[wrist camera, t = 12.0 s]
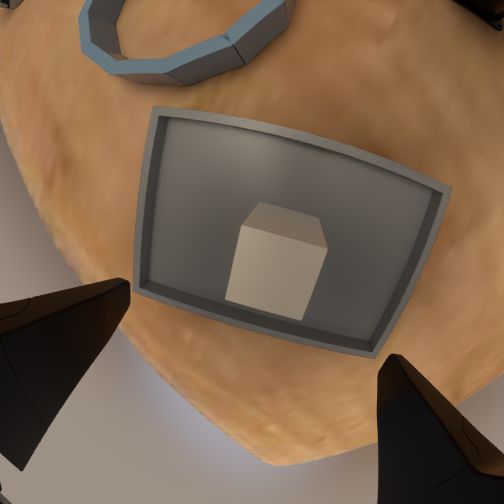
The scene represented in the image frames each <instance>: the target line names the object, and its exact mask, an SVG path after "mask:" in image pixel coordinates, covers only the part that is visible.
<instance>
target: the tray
mask: <svg viewBox="0 0 504 504" xmlns="http://www.w3.org/2000/svg"><path fill="white" fill-rule="evenodd" d="M451 191H452V188H451V187H449V186H447V185H445V184H443V183H441V182H439V181H437V180H435V179H433V178H431V177H428V176H426V175H424V174H422V173H420V172H417V171H415V170H413V169H411V168H408V167H406V166H403V165H401V164H399V163H396V162H394V161H391V160H389V159H386V158H384V157H381V156H378V155H376V154H373V153H370V152H367V151H365V150H362V149H359V148H356V147H353V146H350V145H347V144H344V143H341V142H338V141H335V140H331V139H328V138H325V137H321V136H318V135H314V134H311V133H307V132H303V131H300V130H296V129H292V128H288V127H284V126H280V125H275V124H271V123H267V122H262V121H257V120H252V119H247V118H242V117H236V116H231V115H225V114H219V113H212V112H205V111H198V110H190V109H181V108H171V107H159V106H153V108H152V113H151V118H150V123H149V128H148V133H147V139H146V144H145V150H144V156H143V163H142V170H141V177H140V185H139V193H138V203H137V213H136V225H135V240H134V260H133V292H135V293H138V294H140V295H143V296H146V297H148V298H151V299H154V300H157V301H159V302H162V303H165V304H168V305H171V306H174V307H176V308H179V309H182V310H185V311H188V312H191V313H194V314H197V315H200V316H204V317H207V318H210V319H213V320H216V321H220V322H223V323H226V324H229V325H233V326H236V327H240V328H243V329H247V330H250V331H254V332H257V333H261V334H265V335H268V336H272V337H276V338H280V339H284V340H288V341H292V342H296V343H300V344H304V345H308V346H313V347H317V348H322V349H326V350H331V351H335V352H340V353H345V354H350V355H355V356H361V357H366V358H371V359H375V358H376V357H377V355H378V354H379V352H380V350H381V349H382V347H383V345H384V344H385V342H386V340H387V339H388V337H389V335H390V333H391V332H392V330H393V328H394V326H395V325H396V323H397V321H398V319H399V317H400V315H401V314H402V312H403V310H404V308H405V306H406V304H407V302H408V300H409V298H410V296H411V294H412V292H413V290H414V288H415V286H416V283H417V281H418V279H419V277H420V275H421V273H422V270H423V268H424V266H425V263H426V261H427V259H428V256H429V254H430V251H431V249H432V246H433V244H434V241H435V239H436V236H437V233H438V231H439V228H440V225H441V222H442V219H443V216H444V213H445V210H446V207H447V204H448V201H449V198H450V194H451ZM259 202H264V203H268V204H272V205H275V206H279V207H283V208H286V209H290V210H293V211H297V212H301V213H304V214H308V215H311V216H314V217H318V218H319V220H320V223H321V227H322V230H323V233H324V237H325V240H326V244H327V248H328V250H327V253H326V256H325V259H324V262H323V265H322V267H321V270H320V273H319V276H318V278H317V281H316V284H315V287H314V289H313V292H312V295H311V297H310V300H309V302H308V305H307V307H306V310H305V313H304V315H303V318H302V320H301V321H300V320H297V319H293V318H289V317H285V316H281V315H278V314H274V313H270V312H267V311H263V310H259V309H256V308H252V307H249V306H245V305H242V304H238V303H235V302H231V301H228V300H225V297H226V292H227V288H228V283H229V279H230V274H231V269H232V265H233V260H234V256H235V251H236V247H237V242H238V238H239V233H240V229H241V225H242V224H243V222H244V221H245V220H246V218H247V217H248V216H249V215H250V213H251V212H252V211H253V209H254V208H255V207H256V206H257V204H258V203H259Z"/></svg>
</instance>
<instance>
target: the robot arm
mask: <svg viewBox="0 0 504 504" xmlns="http://www.w3.org/2000/svg"><path fill="white" fill-rule="evenodd" d="M455 1H456V2H458V3H460V4H461V5H463V6H464V7H466V8H467V9H469V10H470V11H472V12H473V13H475V14H476V15H478V16H479V17H481V18H482V19H483V20H485V21H486V22H488V23H489V24H490V25H492V26H493V27H494V28H495V29H497V30H498V31H502V30H503V23H502V19H503V18H504V0H455ZM129 306H130V282H129V281H128V280H125V279H122V278H114V279H110V280H105V281H101V282H96V283H92V284H88V285H83V286H79V287H75V288H70V289H66V290H61V291H57V292H53V293H49V294H44V295H40V296H35V297H32V298H27V299H23V300H18V301H13V302H8V303H1V304H0V453H1V454H2V455H3V456H4V457H5V458H6V459H7V460H9V461H10V462H11V463H12V464H13V465H14V466H15V467H17V468H18V469H19V470H20V471H23V470H24V468H25V466H26V465H27V463H28V461H29V459H30V458H31V456H32V454H33V453H34V451H35V449H36V448H37V446H38V444H39V443H40V441H41V439H42V438H43V436H44V435H45V433H46V431H47V430H48V428H49V426H50V425H51V423H52V422H53V420H54V418H55V417H56V415H57V414H58V412H59V411H60V409H61V408H62V406H63V405H64V403H65V402H66V400H67V399H68V397H69V396H70V394H71V393H72V391H73V390H74V388H75V387H76V385H77V384H78V383H79V381H80V380H81V378H82V377H83V376H84V374H85V373H86V371H87V370H88V369H89V367H90V366H91V364H92V363H93V362H94V360H95V359H96V358H97V356H98V355H99V353H100V352H101V351H102V349H103V348H104V347H105V345H106V344H107V343H108V341H109V340H110V338H111V336H112V335H113V333H114V332H115V330H116V328H117V326H118V325H119V323H120V321H121V320H122V318H123V316H124V315H125V313H126V311H127V310H128V308H129ZM377 429H378V464H379V465H378V501H377V504H504V454H503V453H502V452H501V451H500V450H499V449H498V448H497V447H496V446H494V445H493V444H492V443H491V442H490V441H489V440H488V439H487V438H486V437H484V436H483V435H482V434H481V433H480V432H479V431H478V430H477V429H476V428H475V427H474V426H473V425H472V424H471V423H470V422H469V421H468V420H467V419H466V418H465V417H464V416H462V414H461V413H460V412H459V411H458V410H457V409H456V408H455V407H454V406H453V405H452V404H451V403H450V402H449V401H448V400H447V399H446V398H445V397H444V396H443V395H442V394H441V393H440V392H439V391H438V390H437V389H436V388H435V387H434V386H433V385H432V384H431V383H430V382H429V381H428V380H427V379H426V378H425V377H424V376H423V375H422V374H421V373H420V372H419V371H418V370H417V369H416V368H415V367H414V366H413V365H412V364H411V363H409V362H408V361H407V360H406V359H405V358H404V357H403V356H402V355H399V354H390V355H389V356H388V358H387V359H386V361H385V362H384V364H383V365H382V367H381V368H380V370H379V372H378V377H377ZM1 490H2V487H1V483H0V492H1ZM0 504H12V503H11V502H9V501H8V500H7V499H6V498H5V497H4V496H3V495H2V494H1V493H0Z"/></svg>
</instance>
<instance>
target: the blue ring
mask: <svg viewBox="0 0 504 504" xmlns="http://www.w3.org/2000/svg"><path fill="white" fill-rule="evenodd" d="M124 1H125V0H86V1H85V3H84V5H83V7H82V10H81V12H80V14H79V17H78V18H79V30H80V41H81V49H82V53H83V54H85V55H86V56H87V57H89V58H90V59H91V60H92V61H94V62H95V63H96V64H98V65H99V66H100V67H101V68H103V69H104V70H105V71H106V72H108V73H109V74H111V75H114V76H117V77H121V78H124V79H127V80H131V81H134V82H137V83H140V84H166V85H182V86H191V85H193V84H195V83H198V82H200V81H203V80H205V79H208V78H210V77H213V76H216V75H218V74H221V73H224V72H227V71H229V70H232V69H235V68H238V67H241V66H244V65H245V64H248V63H249V62H250V61H251V60H252V59H253V58H254V57H255V56H256V55H257V54H258V53H259V52H260V51H261V50H263V49H264V48H265V47H266V46H267V45H268V44H269V43H270V42H272V41H273V40H274V39H275V38H276V37H277V36H278V35H280V34H281V33H282V32H283V31H284V30H286V29H287V28H288V26H289V22H290V19H291V15H292V11H293V7H294V4H295V0H262V1H261V2H260V3H259V4H257V5H256V6H255V7H254V8H252V9H251V10H250V11H249V12H248V13H246V14H245V15H244V16H243V17H242V18H240V19H239V20H238V21H237V22H236V23H235V24H234V25H233V26H231V27H230V28H229V29H228V30H227V31H226V32H225V33H224V34H221V35H219V36H216V37H213V38H211V39H208V40H206V41H203V42H201V43H198V44H196V45H193V46H191V47H189V48H187V49H184V50H182V51H180V52H178V53H176V54H173V55H171V56H169V57H167V58H165V59H136V60H129V59H128V58H126V57H125V56H123V55H122V54H121V53H120V48H119V43H118V38H117V32H116V27H115V24H116V21H117V18H118V16H119V13H120V11H121V8H122V6H123V4H124Z"/></svg>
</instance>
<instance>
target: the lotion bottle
mask: <svg viewBox="0 0 504 504" xmlns="http://www.w3.org/2000/svg"><path fill="white" fill-rule="evenodd" d="M21 2H22V0H0V7H2V8H9V9H14V8H15V7H17V6H18V5H19V4H20V3H21Z"/></svg>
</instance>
